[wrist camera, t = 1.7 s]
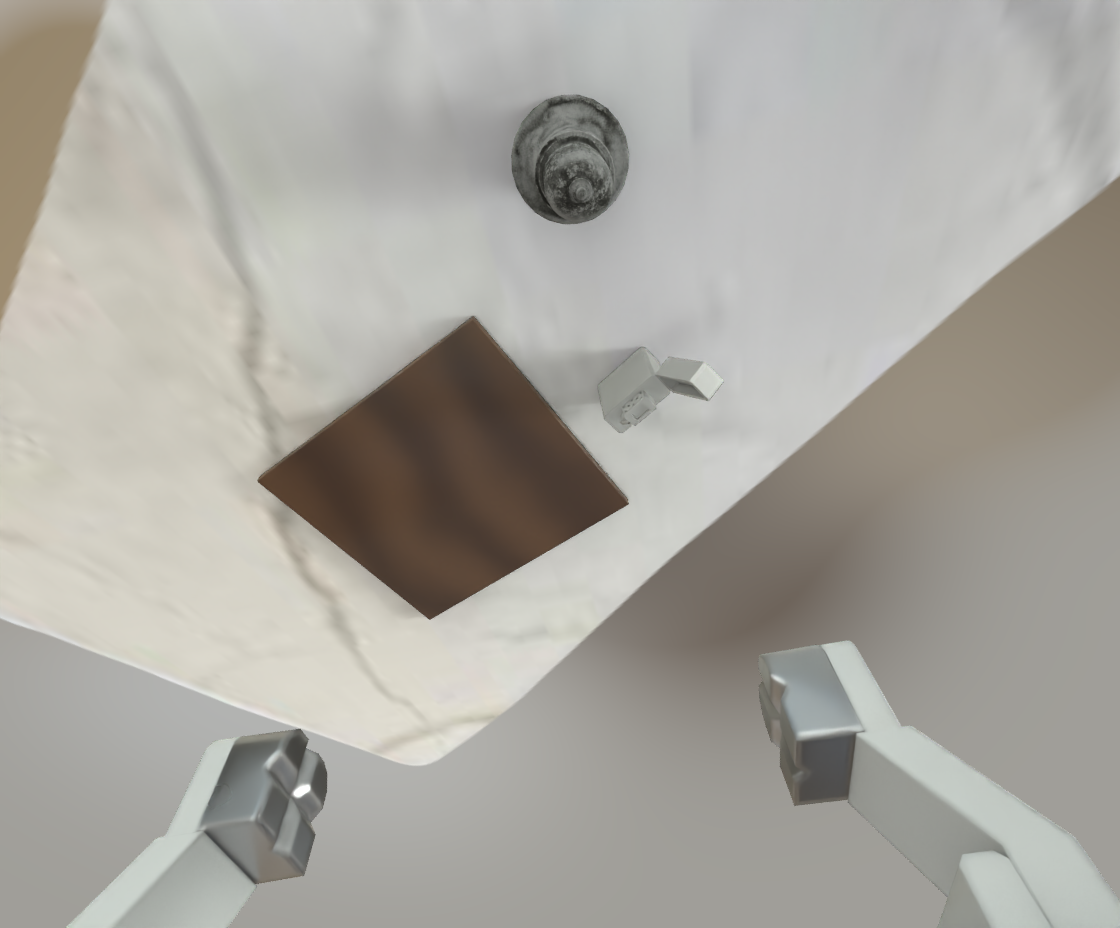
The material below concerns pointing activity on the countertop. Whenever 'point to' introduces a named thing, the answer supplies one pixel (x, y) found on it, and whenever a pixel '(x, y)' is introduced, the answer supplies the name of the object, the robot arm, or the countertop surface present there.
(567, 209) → the tarnished pewter finial
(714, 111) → the countertop surface
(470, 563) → the walnut board
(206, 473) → the countertop surface
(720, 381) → the lighter
